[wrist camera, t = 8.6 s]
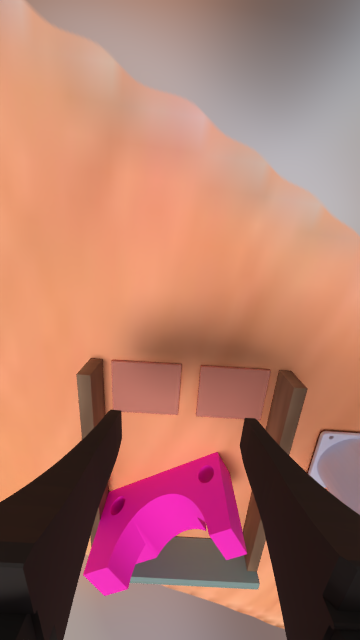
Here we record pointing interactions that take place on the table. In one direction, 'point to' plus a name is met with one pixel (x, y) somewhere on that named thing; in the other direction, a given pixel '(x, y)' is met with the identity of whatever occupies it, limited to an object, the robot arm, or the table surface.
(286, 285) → the table surface
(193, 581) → the end stop
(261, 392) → the trap squares
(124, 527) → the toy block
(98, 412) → the lane rails
